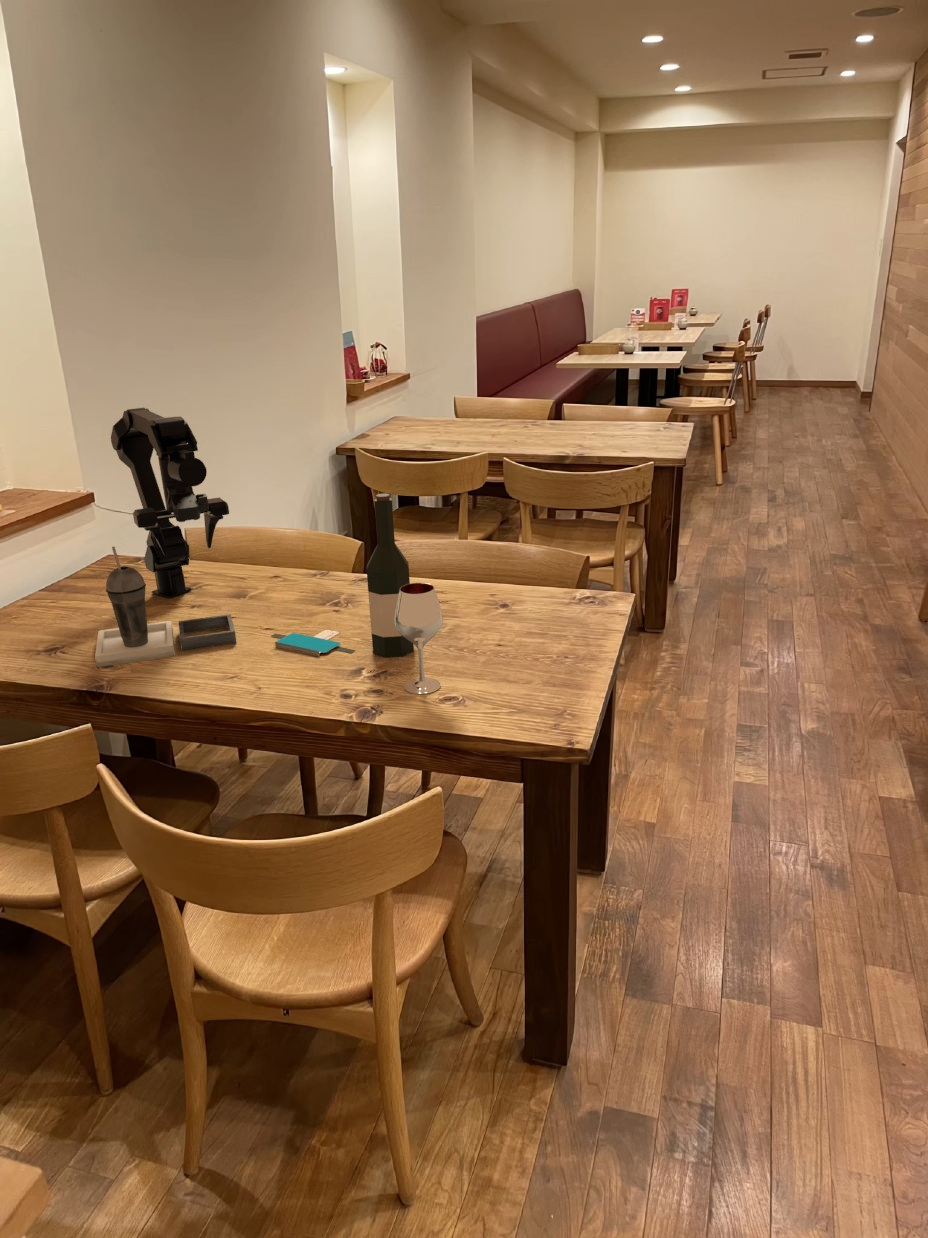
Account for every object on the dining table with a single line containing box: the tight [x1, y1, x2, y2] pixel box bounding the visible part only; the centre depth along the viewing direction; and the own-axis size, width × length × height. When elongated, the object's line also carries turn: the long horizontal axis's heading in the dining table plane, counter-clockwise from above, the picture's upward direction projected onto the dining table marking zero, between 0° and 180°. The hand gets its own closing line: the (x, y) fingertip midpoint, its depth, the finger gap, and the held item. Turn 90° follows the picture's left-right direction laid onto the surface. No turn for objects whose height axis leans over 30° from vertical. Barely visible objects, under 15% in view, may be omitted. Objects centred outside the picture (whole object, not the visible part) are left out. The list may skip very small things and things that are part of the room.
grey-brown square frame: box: [178, 613, 237, 652], centre depth 180 cm, size 10×10×2 cm
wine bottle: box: [366, 493, 415, 659], centre depth 166 cm, size 8×8×30 cm
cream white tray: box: [94, 620, 175, 668], centre depth 176 cm, size 14×14×2 cm
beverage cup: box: [105, 546, 148, 647], centre depth 173 cm, size 7×7×20 cm
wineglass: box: [394, 582, 444, 695], centre depth 152 cm, size 8×8×18 cm
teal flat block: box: [270, 629, 356, 657], centre depth 176 cm, size 20×12×2 cm, turn 60°
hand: (187, 551), depth 192 cm, fingers open, 9 cm apart
